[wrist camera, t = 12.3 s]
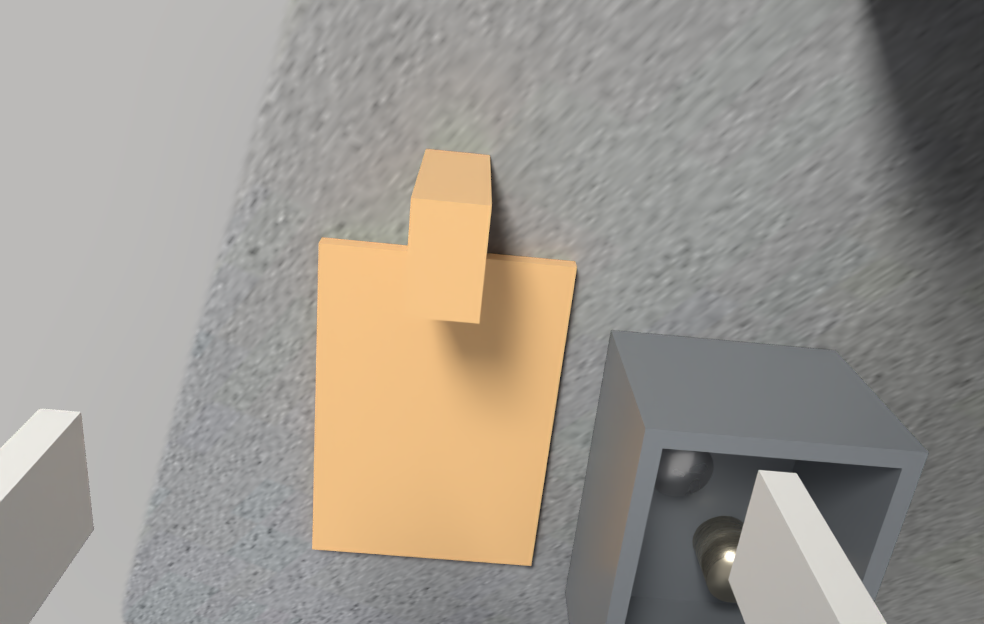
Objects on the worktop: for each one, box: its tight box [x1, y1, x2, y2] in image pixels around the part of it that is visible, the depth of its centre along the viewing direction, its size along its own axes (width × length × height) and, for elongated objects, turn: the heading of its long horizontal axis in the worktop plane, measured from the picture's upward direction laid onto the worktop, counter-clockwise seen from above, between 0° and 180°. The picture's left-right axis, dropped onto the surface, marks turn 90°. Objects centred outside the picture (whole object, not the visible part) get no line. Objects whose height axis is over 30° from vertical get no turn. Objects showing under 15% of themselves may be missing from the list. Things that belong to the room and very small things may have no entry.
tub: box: [565, 330, 929, 624], centre depth 38 cm, size 16×11×9 cm
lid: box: [312, 149, 577, 566], centre depth 36 cm, size 22×12×8 cm, turn 174°
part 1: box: [654, 448, 713, 496], centre depth 39 cm, size 3×3×3 cm
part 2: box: [692, 516, 744, 603], centre depth 42 cm, size 3×3×3 cm
